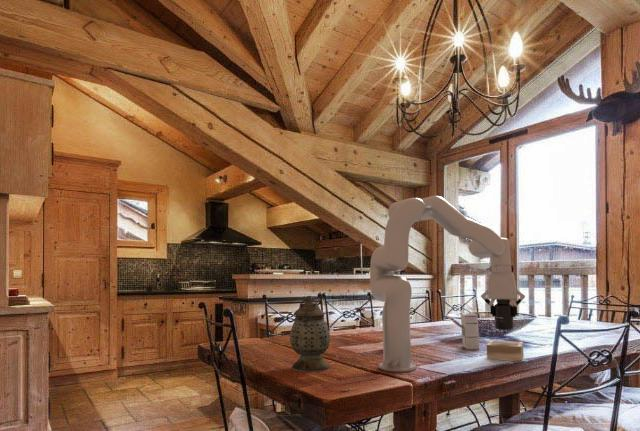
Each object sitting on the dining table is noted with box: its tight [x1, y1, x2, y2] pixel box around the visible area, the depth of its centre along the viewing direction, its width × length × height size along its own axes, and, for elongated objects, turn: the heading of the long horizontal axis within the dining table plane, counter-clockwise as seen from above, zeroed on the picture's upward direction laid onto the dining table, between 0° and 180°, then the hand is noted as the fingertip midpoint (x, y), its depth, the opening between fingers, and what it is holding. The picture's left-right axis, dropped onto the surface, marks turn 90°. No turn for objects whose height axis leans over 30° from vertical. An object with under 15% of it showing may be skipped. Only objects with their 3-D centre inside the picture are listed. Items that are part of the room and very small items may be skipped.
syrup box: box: [460, 312, 480, 350], centre depth 202 cm, size 6×6×14 cm
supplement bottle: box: [493, 300, 515, 331], centre depth 183 cm, size 7×7×12 cm
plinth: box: [486, 340, 525, 362], centre depth 181 cm, size 12×12×5 cm
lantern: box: [289, 295, 331, 373], centre depth 167 cm, size 14×14×25 cm
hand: (503, 316), depth 183 cm, fingers closed on supplement bottle, 6 cm apart
